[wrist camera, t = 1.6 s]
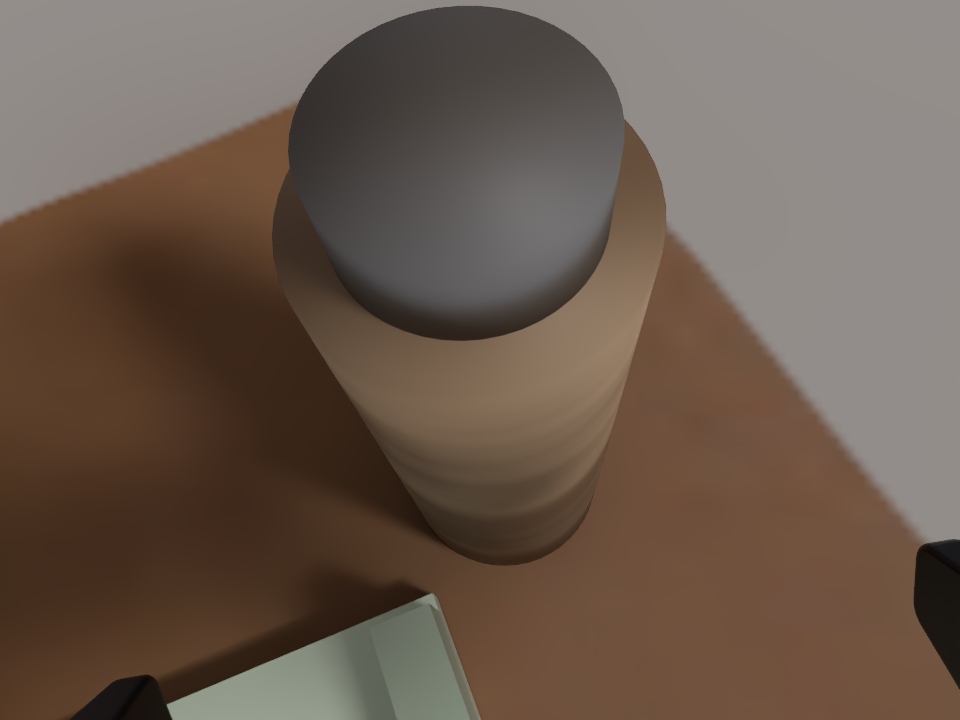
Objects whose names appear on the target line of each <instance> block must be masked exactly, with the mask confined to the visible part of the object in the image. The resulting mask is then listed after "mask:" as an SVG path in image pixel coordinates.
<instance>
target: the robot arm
mask: <svg viewBox="0 0 960 720" xmlns="http://www.w3.org/2000/svg"><path fill="white" fill-rule="evenodd" d="M914 608H915V612H916V615H917V618H918V620H919V622H920V624H921V626H922V628H923V629H924V631H925V633H926V634H927V636H928V638H929V639H930V641H931V643H932V644H933V646H934V648H935V649H936V651H937V653H938V654H939V656H940V658H941V659H942V661H943V663H944V664H945V666H946V668H947V669H948V671H949V673H950V674H951V676H952V678H953V679H954V681H955V683H956V684H957V686H958V688H959V689H960V540H956V539H951V540H945V541H938V542H933V543H927V544H924V545H922V546H921V547H920V548H919V550H918V552H917V556H916V569H915V585H914ZM70 720H173V719H172V717H171V714H170V712H169V709H168V707H167V704H166V702H165V699H164V697H163V694H162V692H161V689H160V687H159V685H158V683H157V681H156V679H155V678H154V677H152V676H150V675H140V676H135V677H129V678H123V679H119V680H116V681H114V682H112V683H111V684H110V685H109V686H107V687H106V688H105V689H104V690H103V691H102V692H101V693H100V694H98V695H97V696H96V697H95V698H94V699H93V700H92V701H90V702H89V703H88V704H87V705H86V706H85V707H84V708H83V709H81V710H80V711H79V712H78V713H77V714H76V715H75V716H73V717H72V718H71V719H70Z"/></svg>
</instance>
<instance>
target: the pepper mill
mask: <svg viewBox="0 0 960 720" xmlns="http://www.w3.org/2000/svg"><path fill="white" fill-rule="evenodd" d="M288 154H289V165H290V169H289V171H288V173H287V174H286V177H285V179H284V182H283V185H282V187H281V190H280V192H279V195H278V199H277V204H276V208H275V213H274V219H273V233H272V242H273V254H274V262H275V266H276V270H277V274H278V278H279V281H280V284H281V286H282V289H283V291H284V293H285V296H286V298H287V300H288V302H289V304H290V306H291V307H292V309H293V310H294V312H295V314H296V315H297V317H298V318H299V320H300V322H301V323H302V325H303V326H304V328H305V330H306V331H307V333H308V334H309V336H310V338H311V339H312V341H313V342H314V344H315V345H316V347H317V349H318V350H319V352H320V353H321V355H322V357H323V358H324V360H325V361H326V363H327V364H328V366H329V368H330V369H331V371H332V372H333V374H334V376H335V377H336V379H337V380H338V382H339V383H340V385H341V387H342V388H343V390H344V391H345V393H346V394H347V396H348V398H349V399H350V401H351V402H352V404H353V406H354V407H355V409H356V410H357V412H358V413H359V415H360V417H361V418H362V420H363V421H364V423H365V425H366V426H367V428H368V429H369V431H370V432H371V434H372V436H373V437H374V439H375V440H376V442H377V444H378V445H379V447H380V448H381V450H382V451H383V453H384V455H385V456H386V458H387V459H388V461H389V463H390V464H391V466H392V467H393V469H394V470H395V472H396V474H397V475H398V477H399V478H400V480H401V482H402V483H403V485H404V486H405V488H406V489H407V491H408V493H409V494H410V496H411V497H412V499H413V501H414V502H415V504H416V505H417V507H418V508H419V510H420V512H421V513H422V515H423V516H424V518H425V520H426V521H427V523H428V524H429V526H430V527H431V529H432V530H433V531H434V533H435V534H436V535H437V536H438V537H439V538H440V539H441V540H442V541H443V542H444V543H445V544H446V545H447V546H449V547H450V548H452V549H453V550H454V551H456V552H457V553H459V554H461V555H463V556H465V557H467V558H469V559H472V560H475V561H478V562H481V563H486V564H491V565H503V566H505V565H518V564H523V563H528V562H531V561H534V560H537V559H540V558H542V557H544V556H546V555H548V554H550V553H552V552H553V551H555V550H556V549H558V548H559V547H560V546H562V545H563V544H564V543H565V542H566V541H567V540H568V539H569V538H571V536H572V535H573V534H574V533H575V532H576V530H577V529H578V528H579V526H580V525H581V523H582V522H583V520H584V518H585V516H586V514H587V512H588V510H589V507H590V504H591V501H592V497H593V494H594V490H595V487H596V483H597V480H598V476H599V473H600V469H601V466H602V462H603V459H604V455H605V452H606V448H607V445H608V441H609V438H610V434H611V431H612V427H613V424H614V420H615V417H616V413H617V410H618V406H619V403H620V399H621V396H622V392H623V389H624V385H625V382H626V378H627V375H628V371H629V368H630V364H631V361H632V357H633V354H634V351H635V347H636V344H637V340H638V337H639V333H640V330H641V326H642V323H643V319H644V316H645V312H646V309H647V305H648V302H649V298H650V295H651V291H652V288H653V284H654V281H655V277H656V274H657V270H658V267H659V263H660V260H661V256H662V253H663V248H664V241H665V234H666V203H665V198H664V193H663V187H662V183H661V180H660V177H659V174H658V171H657V168H656V166H655V163H654V161H653V160H652V157H651V156H650V154H649V152H648V150H647V148H646V146H645V144H644V143H643V142H642V140H641V139H640V137H639V136H638V135H637V133H636V132H635V131H634V129H633V128H632V127H631V126H630V125H629V124H628V122H626V120H624V116H623V110H622V105H621V102H620V99H619V96H618V93H617V90H616V88H615V86H614V84H613V82H612V80H611V78H610V76H609V74H608V73H607V71H606V70H605V68H604V67H603V66H602V65H601V63H600V62H599V61H598V59H597V58H596V57H595V56H594V55H593V54H592V53H591V52H590V51H589V50H588V49H587V48H586V47H585V46H584V45H583V44H581V43H580V42H579V41H577V40H576V39H575V38H574V37H572V36H571V35H569V34H567V33H566V32H564V31H563V30H561V29H559V28H558V27H556V26H554V25H551V24H550V23H547V22H545V21H543V20H540V19H538V18H536V17H532V16H529V15H526V14H523V13H520V12H516V11H510V10H506V9H501V8H493V7H483V6H454V7H444V8H436V9H431V10H426V11H420V12H416V13H413V14H409V15H406V16H402V17H399V18H396V19H394V20H391V21H389V22H386V23H384V24H381V25H380V26H377V27H376V28H374V29H372V30H370V31H368V32H366V33H364V34H362V35H361V36H359V37H358V38H356V39H355V40H353V41H352V42H350V43H349V44H347V45H346V46H345V47H344V48H342V49H341V50H340V51H339V52H338V53H336V54H335V55H334V56H333V57H332V58H331V59H330V60H329V61H328V62H327V63H326V64H325V65H324V66H323V67H322V68H321V69H320V70H319V72H318V73H317V74H316V75H315V77H314V78H313V79H312V81H311V82H310V84H309V85H308V87H307V88H306V90H305V92H304V94H303V95H302V97H301V99H300V101H299V103H298V106H297V109H296V111H295V114H294V116H293V120H292V125H291V129H290V133H289V147H288Z"/></svg>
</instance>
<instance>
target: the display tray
mask: <svg viewBox="0 0 960 720" xmlns="http://www.w3.org/2000/svg"><path fill="white" fill-rule="evenodd" d="M167 707H168V709H169V712H170V714H171V717H172V719H173V720H481V718H480V715H479V713H478V710H477V707H476V704H475V701H474V699H473V696H472V693H471V690H470V688H469V685H468V682H467V679H466V676H465V674H464V671H463V668H462V665H461V662H460V660H459V657H458V654H457V651H456V648H455V646H454V643H453V640H452V637H451V635H450V632H449V629H448V626H447V623H446V621H445V618H444V615H443V612H442V609H441V607H440V604H439V601H438V598H437V597H436V596H435V595H434V594H433V593H431V594H429V595H427V596H424V597H422V598H419V599H417V600H415V601H412V602H410V603H408V604H405V605H403V606H400V607H398V608H396V609H393V610H391V611H389V612H386V613H384V614H381V615H379V616H377V617H374V618H372V619H369V620H367V621H365V622H362V623H360V624H358V625H355V626H353V627H350V628H348V629H346V630H343V631H341V632H339V633H336V634H334V635H331V636H329V637H327V638H324V639H322V640H319V641H317V642H315V643H312V644H310V645H308V646H305V647H303V648H300V649H298V650H296V651H293V652H291V653H288V654H286V655H284V656H281V657H279V658H277V659H274V660H272V661H269V662H267V663H265V664H262V665H260V666H258V667H255V668H253V669H250V670H248V671H246V672H243V673H241V674H238V675H236V676H234V677H231V678H229V679H227V680H224V681H222V682H219V683H217V684H215V685H212V686H210V687H208V688H205V689H203V690H200V691H198V692H196V693H193V694H191V695H188V696H186V697H184V698H181V699H179V700H177V701H174V702H172V703H169V704H167Z"/></svg>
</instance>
